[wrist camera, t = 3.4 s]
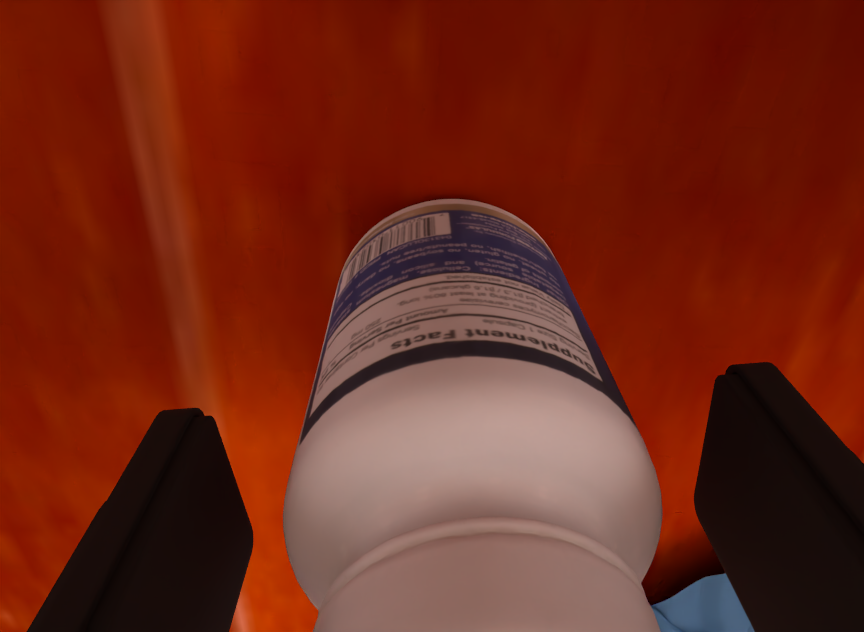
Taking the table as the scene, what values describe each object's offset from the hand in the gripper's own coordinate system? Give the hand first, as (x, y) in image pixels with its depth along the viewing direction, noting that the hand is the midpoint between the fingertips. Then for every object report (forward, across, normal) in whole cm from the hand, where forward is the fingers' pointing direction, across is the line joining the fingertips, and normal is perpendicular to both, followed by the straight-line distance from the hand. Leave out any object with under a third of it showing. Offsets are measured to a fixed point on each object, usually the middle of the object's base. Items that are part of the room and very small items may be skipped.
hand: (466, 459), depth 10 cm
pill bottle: (+6, 0, 0) cm, 6 cm away
